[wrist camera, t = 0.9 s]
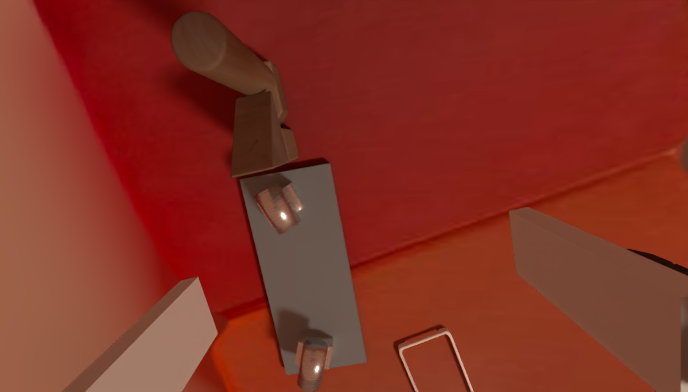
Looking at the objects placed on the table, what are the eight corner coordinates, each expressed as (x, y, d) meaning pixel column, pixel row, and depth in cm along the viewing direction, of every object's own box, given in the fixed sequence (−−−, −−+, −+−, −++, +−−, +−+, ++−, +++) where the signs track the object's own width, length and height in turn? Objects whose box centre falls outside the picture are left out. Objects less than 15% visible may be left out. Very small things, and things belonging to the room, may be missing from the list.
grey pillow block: (257, 193, 38) (244, 201, 33) (288, 175, 38) (279, 180, 33) (279, 228, 39) (270, 241, 34) (310, 210, 39) (305, 221, 34)
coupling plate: (242, 178, 39) (239, 179, 38) (330, 162, 38) (329, 163, 38) (287, 369, 44) (286, 375, 43) (366, 357, 43) (366, 362, 42)
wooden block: (271, 164, 39) (210, 186, 21) (247, 74, 37) (157, 13, 19) (300, 157, 38) (263, 174, 21) (278, 66, 37) (216, -1, 19)
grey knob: (301, 326, 41) (295, 351, 36) (334, 331, 41) (333, 357, 37) (295, 359, 42) (289, 388, 37) (328, 364, 42) (326, 394, 37)
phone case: (480, 411, 45) (446, 324, 43) (484, 420, 44) (449, 330, 42) (432, 428, 46) (395, 343, 43) (435, 437, 45) (397, 349, 42)
